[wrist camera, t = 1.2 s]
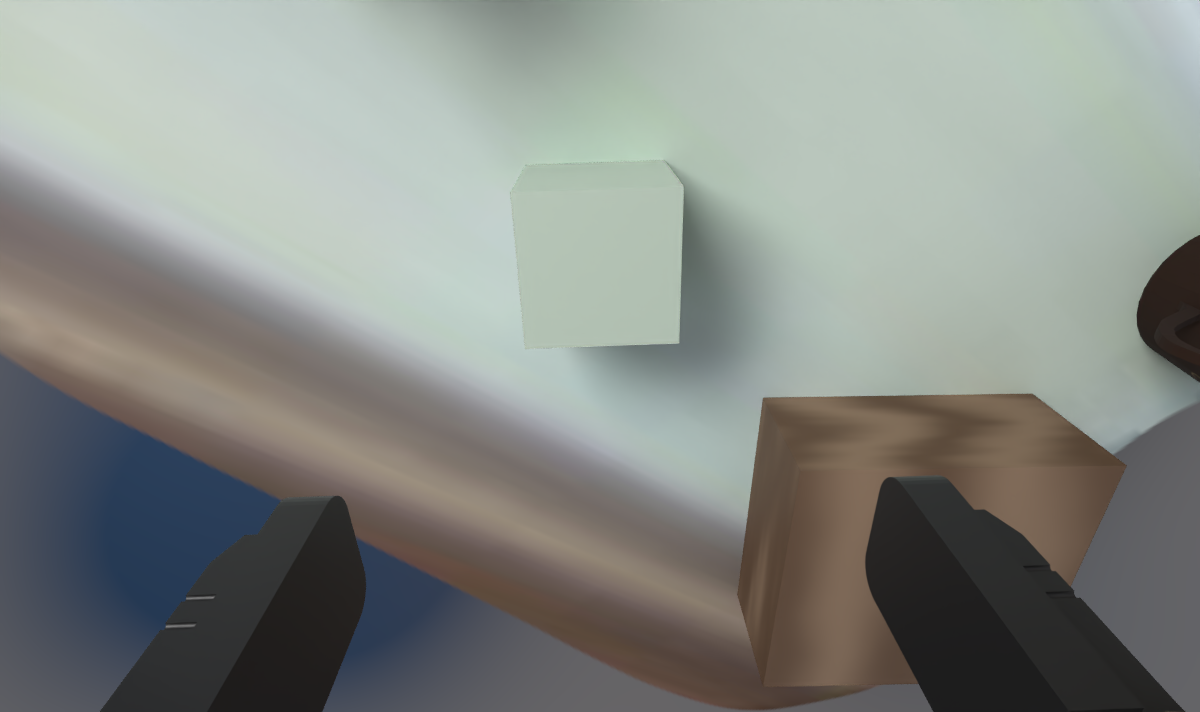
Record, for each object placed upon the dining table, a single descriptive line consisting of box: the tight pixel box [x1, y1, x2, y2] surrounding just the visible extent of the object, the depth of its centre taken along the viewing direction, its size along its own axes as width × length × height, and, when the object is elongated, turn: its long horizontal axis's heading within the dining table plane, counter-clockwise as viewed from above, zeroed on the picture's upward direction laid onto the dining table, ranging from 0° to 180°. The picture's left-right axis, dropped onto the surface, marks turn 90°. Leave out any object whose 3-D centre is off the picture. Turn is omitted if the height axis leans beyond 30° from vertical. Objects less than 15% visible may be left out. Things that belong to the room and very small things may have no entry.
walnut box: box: [737, 394, 1126, 687], centre depth 30 cm, size 13×13×6 cm
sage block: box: [510, 160, 684, 349], centre depth 23 cm, size 6×6×6 cm
